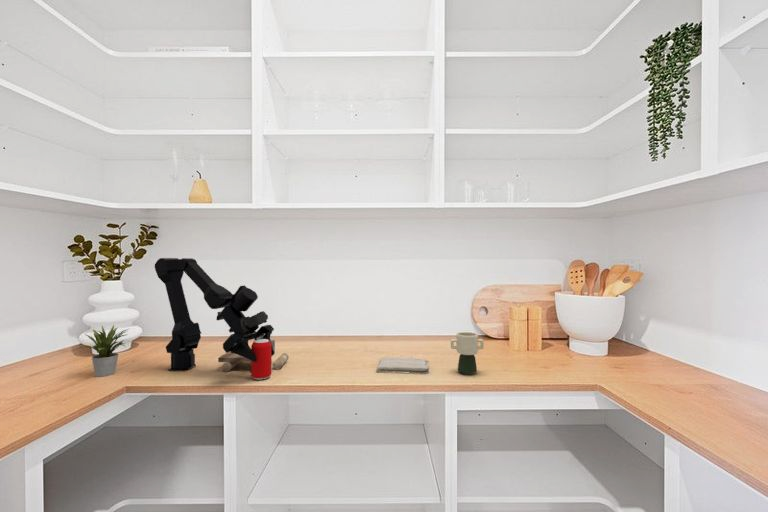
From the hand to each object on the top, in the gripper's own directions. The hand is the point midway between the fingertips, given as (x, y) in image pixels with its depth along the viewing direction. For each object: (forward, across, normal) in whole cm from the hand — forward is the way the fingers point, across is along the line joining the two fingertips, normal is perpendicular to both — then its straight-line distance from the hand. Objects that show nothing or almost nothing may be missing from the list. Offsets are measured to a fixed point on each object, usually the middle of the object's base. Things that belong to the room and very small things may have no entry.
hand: (265, 357), depth 118 cm
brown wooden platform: (-5, +9, +15) cm, 18 cm away
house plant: (-32, -14, +41) cm, 54 cm away
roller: (+2, +14, +7) cm, 16 cm away
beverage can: (+4, 0, +6) cm, 7 cm away
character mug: (+47, +27, -38) cm, 66 cm away
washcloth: (+32, +25, -22) cm, 46 cm away
